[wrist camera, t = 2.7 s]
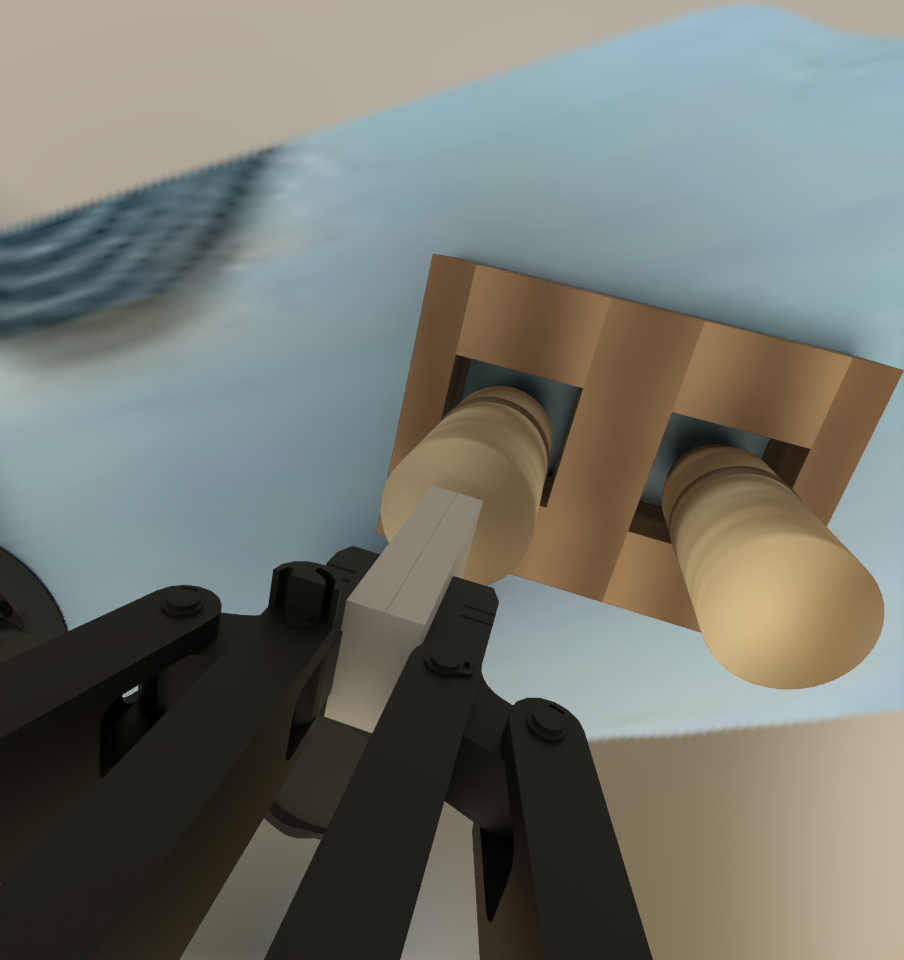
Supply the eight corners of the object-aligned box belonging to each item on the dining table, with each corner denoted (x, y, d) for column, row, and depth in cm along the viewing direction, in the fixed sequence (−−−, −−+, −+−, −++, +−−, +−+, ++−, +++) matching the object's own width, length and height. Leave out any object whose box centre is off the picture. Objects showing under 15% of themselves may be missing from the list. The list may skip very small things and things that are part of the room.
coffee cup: (402, 508, 37) (289, 650, 23) (513, 607, 37) (469, 803, 23) (318, 600, 40) (175, 772, 26) (421, 689, 41) (335, 904, 27)
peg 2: (641, 516, 30) (673, 659, 19) (676, 422, 28) (735, 517, 17) (743, 546, 29) (838, 712, 18) (785, 451, 28) (920, 569, 16)
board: (403, 500, 37) (376, 532, 32) (455, 257, 32) (433, 253, 27) (740, 601, 34) (764, 652, 30) (853, 355, 29) (903, 370, 25)
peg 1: (446, 460, 31) (366, 563, 20) (468, 366, 29) (395, 421, 18) (539, 487, 30) (512, 609, 19) (568, 392, 29) (556, 466, 18)
